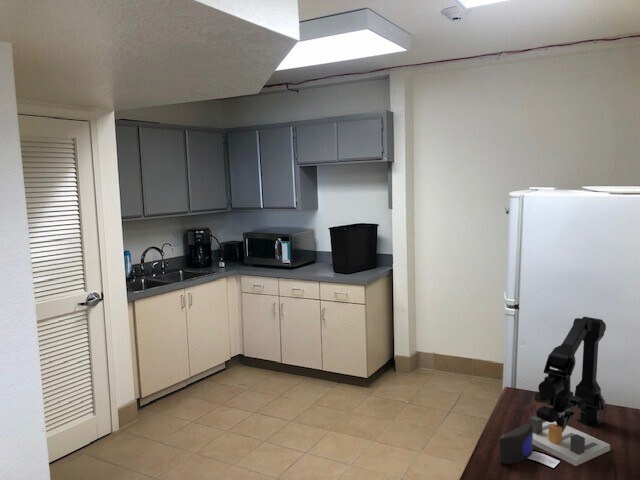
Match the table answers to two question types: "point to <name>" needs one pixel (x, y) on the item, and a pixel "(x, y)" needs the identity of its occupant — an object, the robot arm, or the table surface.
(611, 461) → the table surface
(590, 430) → the table surface
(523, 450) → the leaning round-cornered charcoal block
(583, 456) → the breaker panel
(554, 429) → the block
